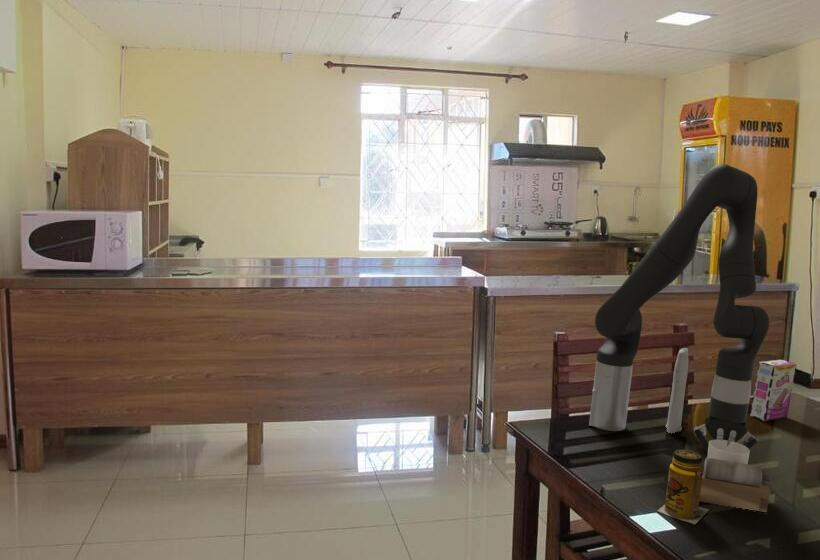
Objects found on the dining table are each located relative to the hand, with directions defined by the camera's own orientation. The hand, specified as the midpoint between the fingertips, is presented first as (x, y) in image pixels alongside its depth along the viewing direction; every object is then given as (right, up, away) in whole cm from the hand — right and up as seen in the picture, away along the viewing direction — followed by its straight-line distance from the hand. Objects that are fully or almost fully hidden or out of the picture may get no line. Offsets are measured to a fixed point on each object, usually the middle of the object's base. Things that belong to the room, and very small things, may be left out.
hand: (719, 473), depth 150 cm
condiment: (-14, -3, -15) cm, 21 cm away
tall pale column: (+3, +2, +33) cm, 33 cm away
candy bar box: (+37, +2, +49) cm, 61 cm away
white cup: (-1, -3, -5) cm, 6 cm away
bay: (-1, -2, -4) cm, 5 cm away
